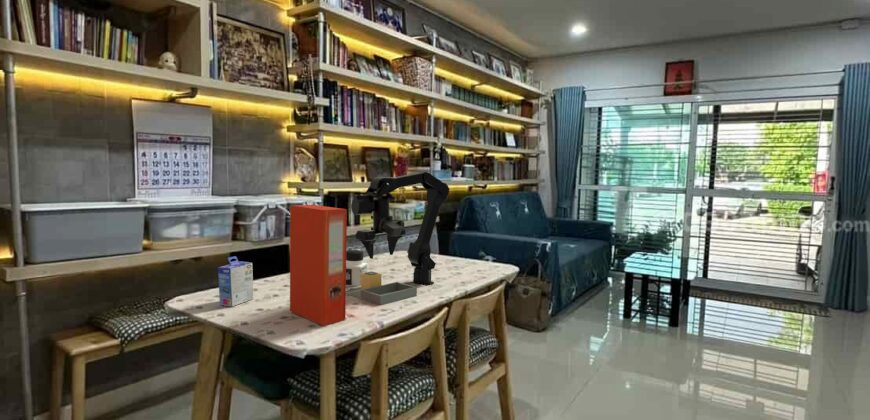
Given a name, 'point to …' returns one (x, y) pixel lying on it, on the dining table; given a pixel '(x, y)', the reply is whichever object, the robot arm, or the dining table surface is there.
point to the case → (388, 293)
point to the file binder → (318, 263)
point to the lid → (354, 291)
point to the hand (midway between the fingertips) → (381, 256)
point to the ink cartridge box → (235, 282)
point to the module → (370, 280)
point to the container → (354, 267)
